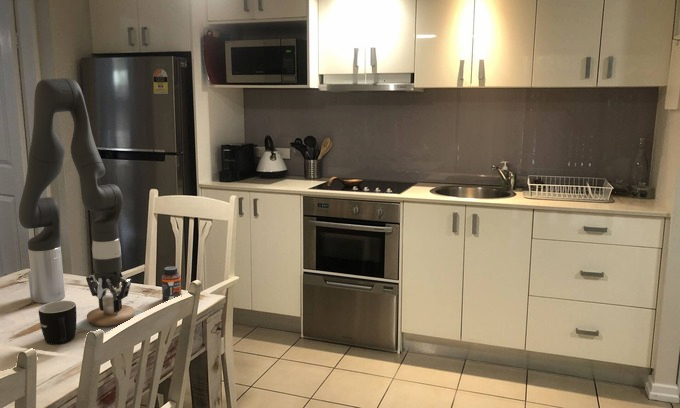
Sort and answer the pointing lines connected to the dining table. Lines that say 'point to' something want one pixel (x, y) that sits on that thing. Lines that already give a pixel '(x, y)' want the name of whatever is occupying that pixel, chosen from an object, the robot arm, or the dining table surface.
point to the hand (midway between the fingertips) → (110, 310)
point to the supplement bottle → (171, 283)
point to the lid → (110, 313)
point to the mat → (87, 326)
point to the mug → (58, 322)
